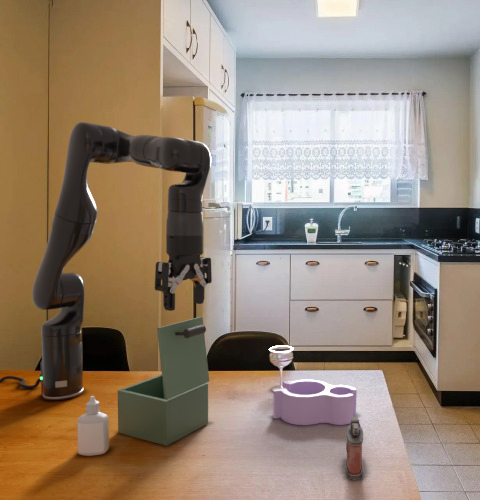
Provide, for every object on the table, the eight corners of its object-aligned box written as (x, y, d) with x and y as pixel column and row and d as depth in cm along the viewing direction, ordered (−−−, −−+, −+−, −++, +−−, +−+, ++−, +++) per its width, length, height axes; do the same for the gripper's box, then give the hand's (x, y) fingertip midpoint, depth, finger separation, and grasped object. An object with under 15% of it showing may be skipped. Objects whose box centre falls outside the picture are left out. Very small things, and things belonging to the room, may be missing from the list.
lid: (156, 327, 105) (174, 327, 103) (199, 316, 117) (216, 316, 115) (164, 399, 105) (182, 400, 103) (206, 381, 117) (224, 381, 115)
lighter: (345, 458, 102) (346, 412, 102) (361, 458, 103) (362, 412, 102) (346, 479, 94) (347, 429, 94) (363, 479, 95) (364, 429, 94)
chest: (118, 432, 112) (117, 390, 111) (162, 412, 124) (162, 373, 123) (166, 446, 106) (166, 401, 105) (208, 423, 118) (208, 383, 117)
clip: (359, 409, 128) (359, 383, 128) (348, 429, 116) (349, 401, 116) (286, 402, 132) (286, 377, 131) (268, 421, 119) (269, 394, 119)
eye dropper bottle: (93, 459, 100) (91, 402, 99) (74, 453, 102) (73, 397, 101) (112, 450, 104) (111, 395, 103) (93, 444, 106) (92, 390, 105)
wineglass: (266, 387, 143) (267, 346, 142) (289, 384, 146) (290, 344, 145) (271, 395, 137) (271, 353, 136) (295, 392, 139) (295, 351, 138)
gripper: (195, 231, 114) (194, 299, 115) (145, 233, 101) (145, 310, 102) (221, 233, 111) (220, 303, 112) (173, 235, 98) (172, 314, 99)
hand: (184, 306), depth 107 cm, fingers open, 8 cm apart
